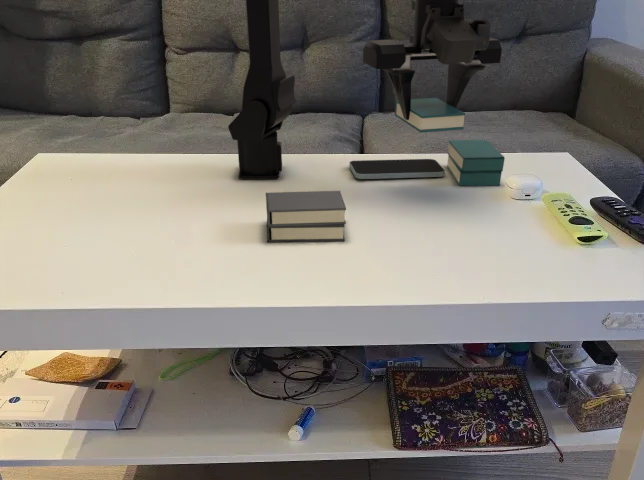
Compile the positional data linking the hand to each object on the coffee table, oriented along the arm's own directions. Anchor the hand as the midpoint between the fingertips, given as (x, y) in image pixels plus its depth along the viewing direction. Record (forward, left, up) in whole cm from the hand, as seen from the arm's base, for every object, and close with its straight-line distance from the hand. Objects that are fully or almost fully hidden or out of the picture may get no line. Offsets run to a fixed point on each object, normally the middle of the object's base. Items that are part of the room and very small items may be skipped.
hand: (428, 117), depth 96 cm
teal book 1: (0, 0, -1) cm, 1 cm away
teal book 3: (+10, +8, -11) cm, 17 cm away
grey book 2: (-18, -15, -11) cm, 26 cm away
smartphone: (-3, +10, -11) cm, 15 cm away
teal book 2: (+10, +8, -9) cm, 16 cm away
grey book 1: (-18, -15, -9) cm, 25 cm away
